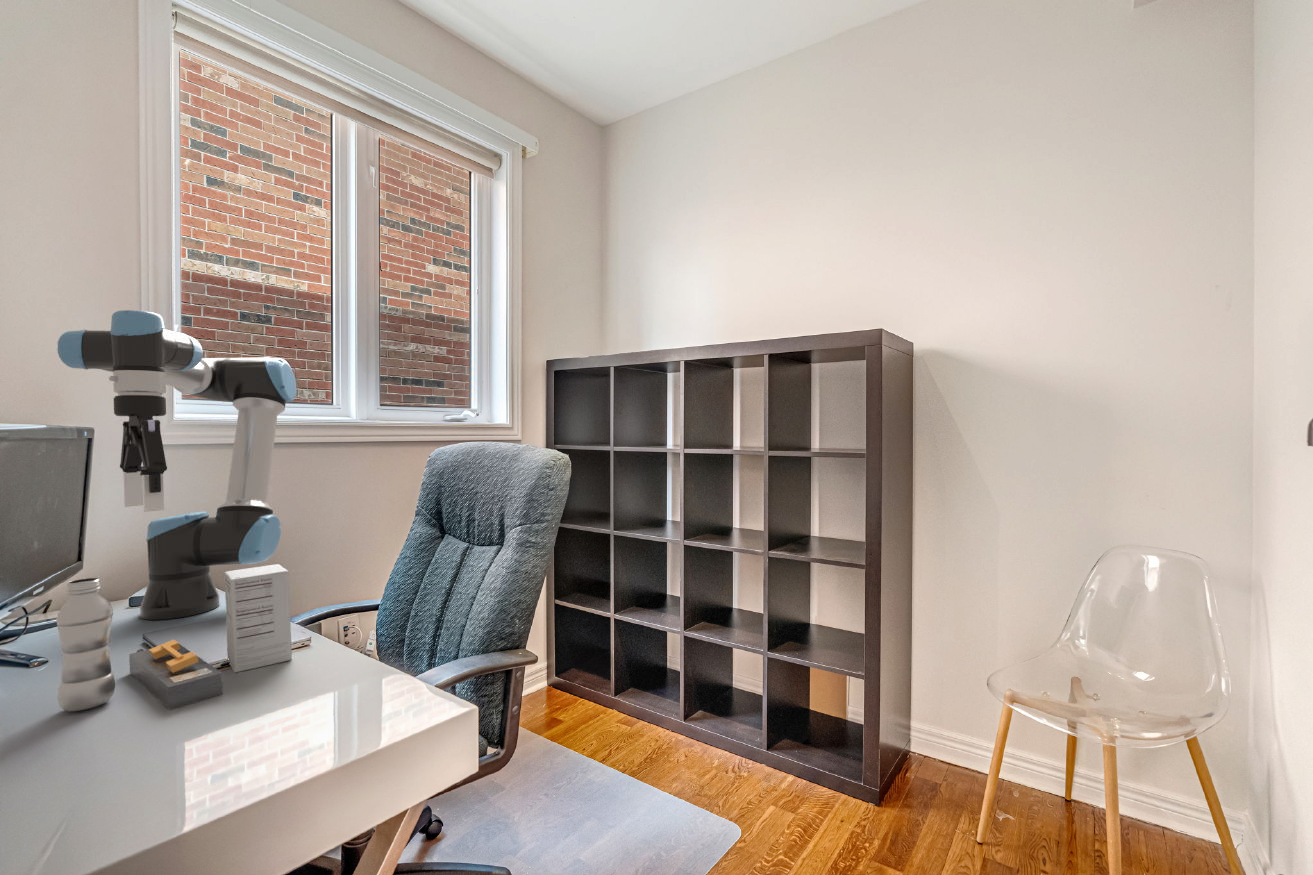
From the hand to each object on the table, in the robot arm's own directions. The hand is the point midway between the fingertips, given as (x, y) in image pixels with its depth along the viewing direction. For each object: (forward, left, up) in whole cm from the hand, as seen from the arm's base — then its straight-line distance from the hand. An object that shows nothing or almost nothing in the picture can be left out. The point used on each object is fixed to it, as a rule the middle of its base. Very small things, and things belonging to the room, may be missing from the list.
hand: (143, 508), depth 116 cm
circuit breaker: (+12, 0, -29) cm, 31 cm away
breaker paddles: (+17, 0, -24) cm, 29 cm away
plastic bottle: (+17, -11, -29) cm, 35 cm away
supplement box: (+17, +13, -29) cm, 36 cm away
